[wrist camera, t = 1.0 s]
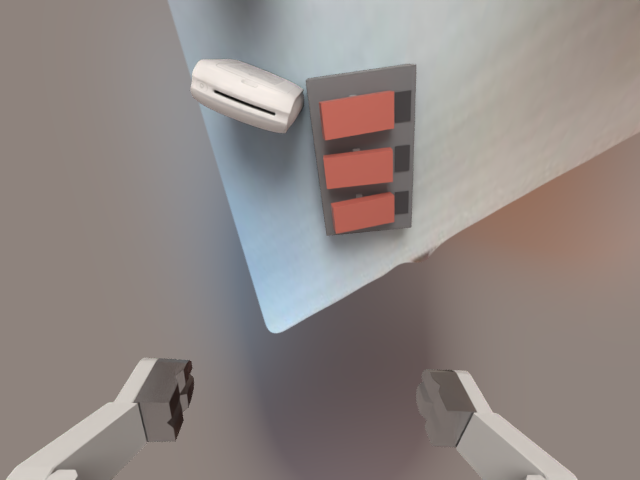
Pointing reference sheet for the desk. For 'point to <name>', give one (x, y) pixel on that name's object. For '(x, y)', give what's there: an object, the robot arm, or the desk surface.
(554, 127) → the desk surface
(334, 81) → the rocker switch panel
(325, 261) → the desk surface
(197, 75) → the photo printer
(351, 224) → the block
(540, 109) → the desk surface
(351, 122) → the block
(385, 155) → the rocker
